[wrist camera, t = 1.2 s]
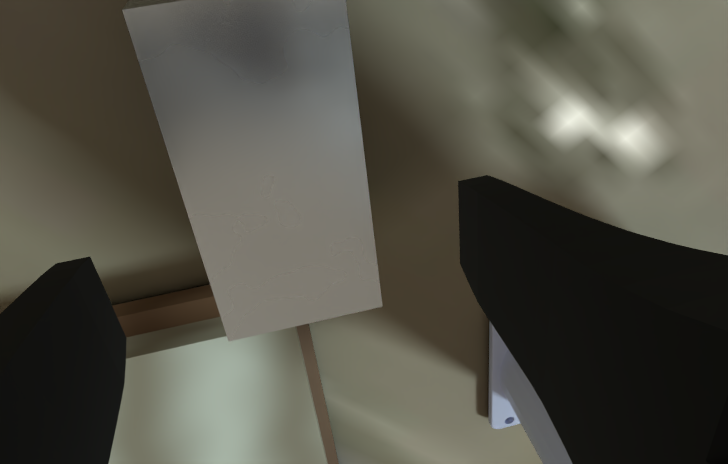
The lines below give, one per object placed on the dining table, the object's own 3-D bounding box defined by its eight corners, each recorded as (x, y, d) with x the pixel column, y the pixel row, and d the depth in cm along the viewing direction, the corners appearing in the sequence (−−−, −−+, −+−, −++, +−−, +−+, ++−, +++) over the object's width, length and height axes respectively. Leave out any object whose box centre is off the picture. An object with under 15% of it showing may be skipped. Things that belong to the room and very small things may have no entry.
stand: (296, 265, 23) (302, 296, 21) (339, 470, 30) (347, 505, 28) (-87, 348, 21) (-113, 389, 19) (56, 544, 28) (46, 586, 26)
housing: (306, -54, 17) (342, -25, 12) (345, 208, 22) (382, 306, 17) (151, -31, 17) (122, 9, 12) (226, 232, 21) (228, 341, 16)
